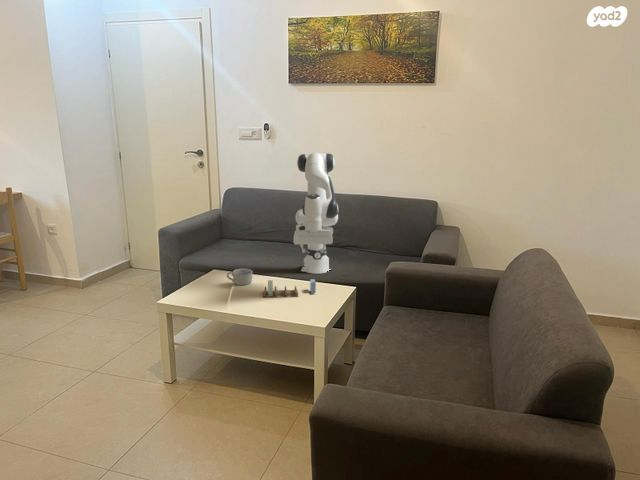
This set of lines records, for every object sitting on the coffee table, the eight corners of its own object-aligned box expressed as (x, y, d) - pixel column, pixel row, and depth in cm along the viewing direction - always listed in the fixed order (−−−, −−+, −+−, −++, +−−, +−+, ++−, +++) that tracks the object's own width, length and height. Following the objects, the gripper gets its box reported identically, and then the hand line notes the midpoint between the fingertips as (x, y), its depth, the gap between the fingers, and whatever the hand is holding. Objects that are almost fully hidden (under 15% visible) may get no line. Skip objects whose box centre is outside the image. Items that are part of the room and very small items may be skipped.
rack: (263, 292, 246) (263, 286, 245) (297, 291, 248) (297, 285, 247) (262, 299, 234) (262, 293, 234) (298, 299, 236) (298, 292, 235)
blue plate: (310, 291, 249) (310, 279, 248) (314, 291, 250) (314, 279, 248) (310, 294, 244) (311, 282, 243) (315, 294, 244) (315, 282, 243)
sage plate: (268, 292, 243) (268, 280, 242) (272, 292, 243) (272, 280, 242) (268, 295, 238) (267, 283, 236) (272, 295, 238) (272, 283, 236)
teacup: (254, 282, 264) (254, 268, 262) (250, 288, 253) (249, 274, 252) (230, 281, 265) (230, 268, 264) (225, 287, 255) (224, 273, 253)
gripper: (332, 225, 244) (332, 251, 246) (293, 225, 242) (293, 251, 244) (334, 227, 238) (333, 253, 240) (293, 227, 236) (293, 254, 238)
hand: (312, 252), depth 242 cm, fingers open, 8 cm apart
